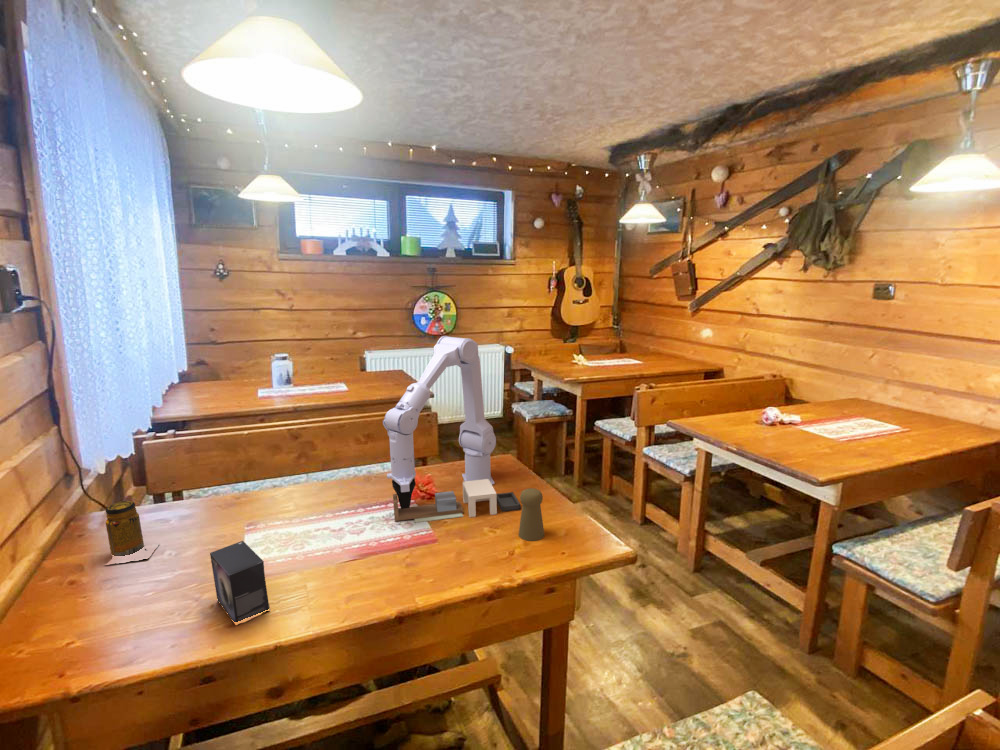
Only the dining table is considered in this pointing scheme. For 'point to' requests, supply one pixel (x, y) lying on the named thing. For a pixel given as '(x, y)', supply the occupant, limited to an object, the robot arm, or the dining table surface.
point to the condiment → (123, 528)
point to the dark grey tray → (508, 502)
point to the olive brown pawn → (531, 515)
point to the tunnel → (479, 495)
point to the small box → (239, 581)
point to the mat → (438, 517)
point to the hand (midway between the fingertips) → (405, 507)
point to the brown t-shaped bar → (429, 507)
